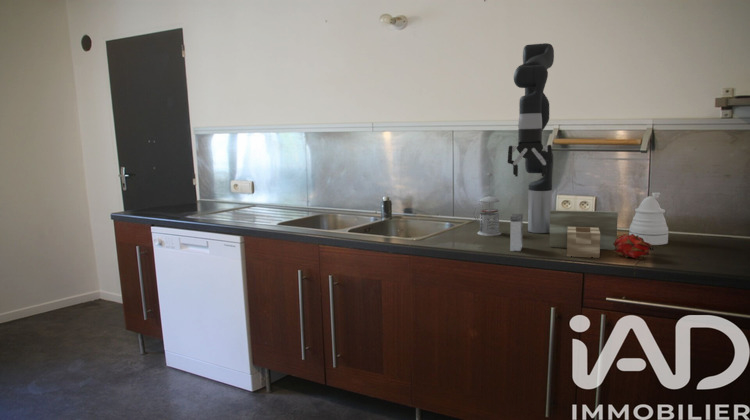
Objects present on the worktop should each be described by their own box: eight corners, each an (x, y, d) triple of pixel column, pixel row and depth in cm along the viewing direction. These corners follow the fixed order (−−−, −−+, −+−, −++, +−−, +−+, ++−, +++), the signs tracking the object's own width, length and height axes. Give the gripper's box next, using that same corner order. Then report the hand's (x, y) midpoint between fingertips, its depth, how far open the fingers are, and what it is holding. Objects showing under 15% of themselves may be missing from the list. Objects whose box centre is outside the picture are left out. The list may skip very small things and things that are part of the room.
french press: (506, 234, 220) (506, 172, 217) (481, 237, 216) (482, 174, 212) (492, 230, 229) (492, 171, 226) (468, 233, 225) (468, 172, 222)
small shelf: (549, 246, 196) (550, 210, 194) (615, 248, 189) (617, 211, 187) (547, 255, 182) (548, 217, 180) (619, 258, 174) (621, 218, 172)
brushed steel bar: (512, 246, 197) (512, 214, 195) (522, 247, 195) (522, 214, 194) (510, 250, 190) (510, 216, 188) (520, 251, 189) (520, 217, 187)
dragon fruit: (610, 259, 180) (649, 269, 174) (607, 248, 174) (648, 258, 167) (617, 237, 183) (656, 245, 176) (615, 225, 176) (656, 234, 169)
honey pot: (663, 238, 204) (665, 190, 202) (671, 245, 192) (674, 194, 190) (626, 237, 208) (627, 190, 205) (632, 244, 196) (634, 194, 193)
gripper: (553, 126, 181) (552, 175, 183) (509, 127, 185) (508, 175, 188) (552, 127, 174) (551, 177, 176) (507, 128, 178) (506, 177, 181)
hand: (529, 176), depth 182 cm, fingers open, 8 cm apart
